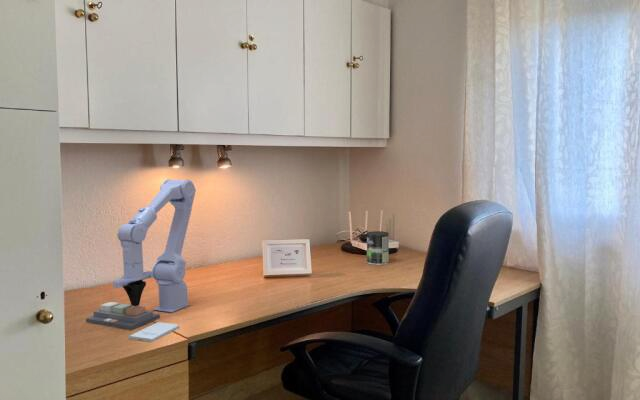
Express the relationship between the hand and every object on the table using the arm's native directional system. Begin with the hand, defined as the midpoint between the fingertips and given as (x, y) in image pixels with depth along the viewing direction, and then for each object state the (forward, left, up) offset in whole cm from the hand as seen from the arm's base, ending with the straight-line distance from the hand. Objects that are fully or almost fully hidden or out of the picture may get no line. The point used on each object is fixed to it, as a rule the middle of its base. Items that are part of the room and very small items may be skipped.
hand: (135, 305), depth 161 cm
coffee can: (-109, +42, -6) cm, 117 cm away
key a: (0, -11, -3) cm, 11 cm away
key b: (0, -5, -3) cm, 6 cm away
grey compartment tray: (0, -6, -5) cm, 8 cm away
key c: (0, 0, -3) cm, 3 cm away
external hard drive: (+5, +12, -6) cm, 15 cm away
